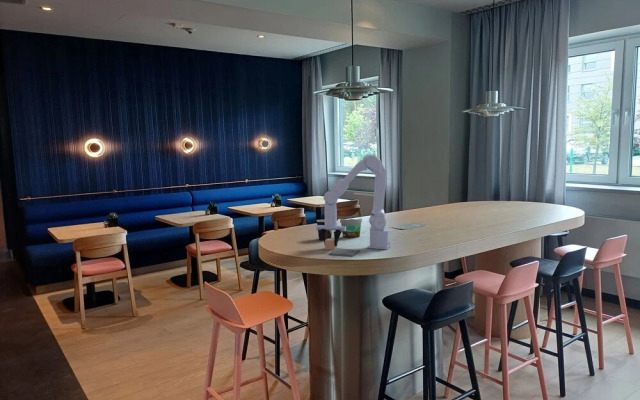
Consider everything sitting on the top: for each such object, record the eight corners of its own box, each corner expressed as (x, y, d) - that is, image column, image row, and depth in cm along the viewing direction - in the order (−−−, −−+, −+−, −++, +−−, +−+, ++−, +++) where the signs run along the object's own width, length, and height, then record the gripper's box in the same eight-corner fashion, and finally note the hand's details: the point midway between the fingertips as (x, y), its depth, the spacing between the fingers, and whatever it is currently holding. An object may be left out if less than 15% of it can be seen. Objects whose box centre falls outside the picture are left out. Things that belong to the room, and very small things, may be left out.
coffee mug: (323, 241, 239) (323, 222, 238) (313, 239, 246) (313, 220, 245) (341, 239, 246) (341, 220, 245) (331, 236, 253) (330, 218, 252)
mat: (359, 251, 215) (359, 249, 215) (352, 256, 205) (352, 254, 205) (336, 249, 219) (336, 248, 219) (328, 254, 209) (328, 253, 209)
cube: (336, 248, 223) (336, 239, 223) (333, 250, 219) (333, 240, 219) (328, 247, 225) (328, 238, 224) (325, 249, 221) (324, 240, 220)
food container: (342, 239, 246) (342, 220, 245) (339, 237, 252) (339, 218, 251) (365, 237, 248) (365, 219, 247) (361, 235, 254) (361, 217, 253)
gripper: (313, 217, 219) (313, 246, 221) (342, 218, 214) (342, 248, 215) (318, 215, 226) (319, 243, 227) (347, 216, 221) (347, 245, 222)
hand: (330, 245), depth 222 cm, fingers closed on cube, 4 cm apart
